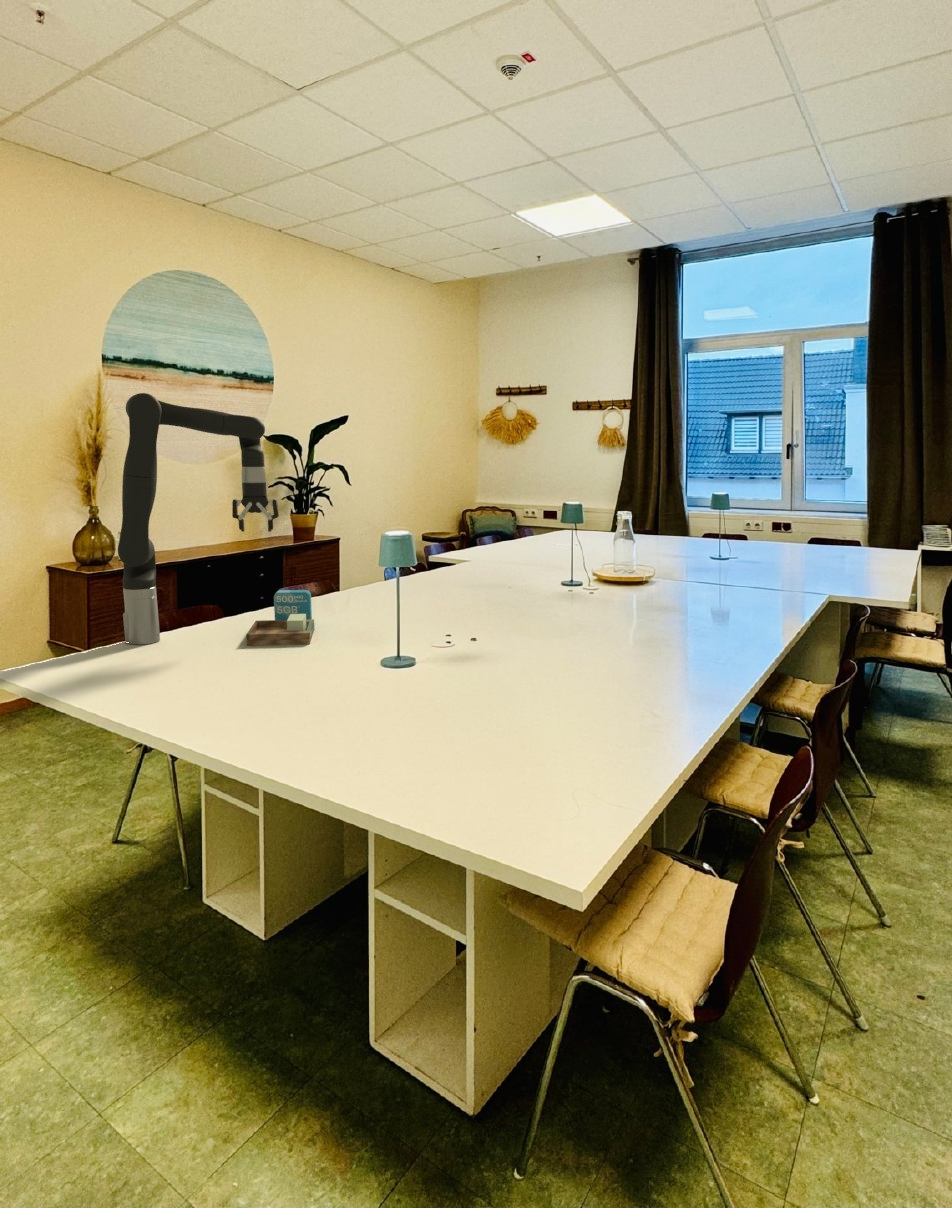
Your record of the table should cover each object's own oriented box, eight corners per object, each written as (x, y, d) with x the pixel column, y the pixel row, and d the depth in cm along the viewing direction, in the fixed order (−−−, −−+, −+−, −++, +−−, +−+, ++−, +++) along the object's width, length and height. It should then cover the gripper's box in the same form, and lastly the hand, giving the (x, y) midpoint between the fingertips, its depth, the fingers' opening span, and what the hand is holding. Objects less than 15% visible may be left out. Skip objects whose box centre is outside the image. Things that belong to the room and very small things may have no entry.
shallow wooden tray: (246, 645, 223) (246, 634, 222) (256, 630, 242) (255, 620, 242) (309, 644, 226) (309, 633, 225) (314, 629, 245) (314, 619, 245)
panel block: (287, 636, 229) (286, 620, 228) (291, 628, 239) (290, 614, 238) (303, 635, 230) (303, 620, 229) (306, 628, 240) (306, 613, 239)
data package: (275, 627, 248) (273, 592, 246) (276, 624, 252) (275, 590, 250) (310, 626, 250) (309, 592, 247) (312, 623, 254) (310, 589, 252)
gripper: (228, 481, 229) (231, 532, 232) (275, 481, 231) (277, 532, 235) (233, 480, 237) (236, 530, 240) (278, 481, 239) (280, 530, 242)
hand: (256, 531), depth 237 cm, fingers open, 8 cm apart
